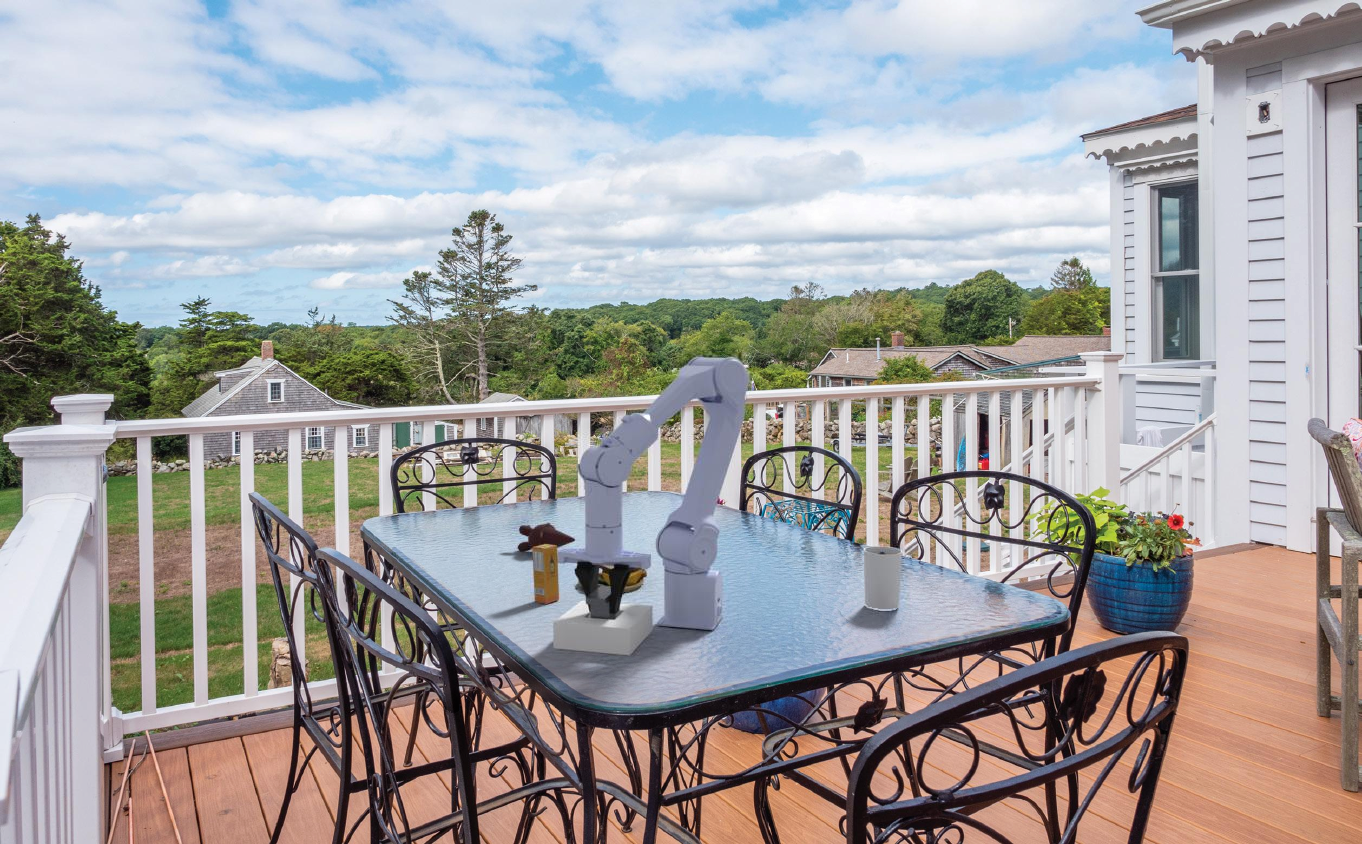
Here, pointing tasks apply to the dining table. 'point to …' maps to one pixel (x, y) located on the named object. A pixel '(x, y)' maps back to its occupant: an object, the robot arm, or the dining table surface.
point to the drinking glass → (882, 576)
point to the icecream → (542, 537)
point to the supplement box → (545, 573)
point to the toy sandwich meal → (631, 584)
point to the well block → (603, 629)
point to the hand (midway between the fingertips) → (604, 611)
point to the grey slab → (600, 603)
